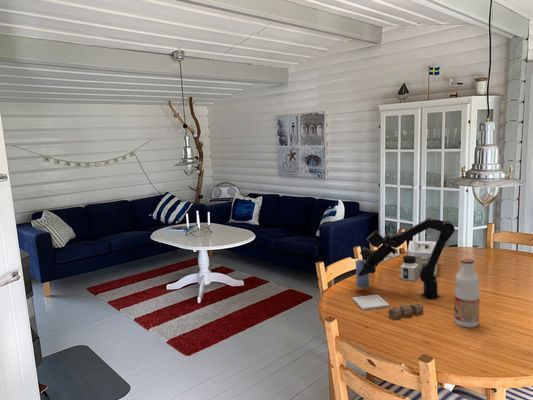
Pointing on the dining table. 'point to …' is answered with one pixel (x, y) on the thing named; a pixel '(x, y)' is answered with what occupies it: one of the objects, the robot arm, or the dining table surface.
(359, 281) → the blue cylinder
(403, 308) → the walnut block
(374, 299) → the tray
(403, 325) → the dining table surface
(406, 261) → the container
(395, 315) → the walnut block
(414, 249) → the storage basket
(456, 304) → the fruit juice
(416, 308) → the walnut block
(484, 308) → the dining table surface
